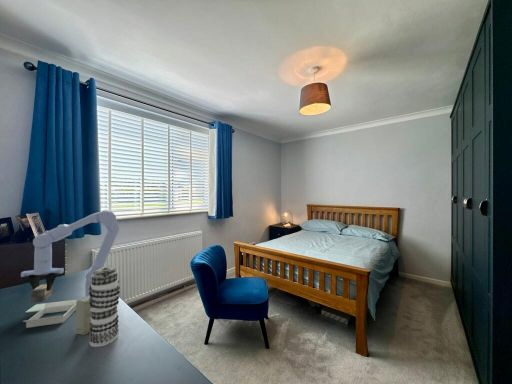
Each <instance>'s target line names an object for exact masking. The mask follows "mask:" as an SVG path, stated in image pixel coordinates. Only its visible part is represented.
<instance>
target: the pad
mask: <svg viewBox="0 0 512 384" xmlns="http://www.w3.org/2000/svg"><path fill="white" fill-rule="evenodd" d="M47 303H48V302H45V303H37V304H35V305H33V306H32V307H30V308H29V309H27V310H26V311H25V312H24V313H25V314H28V313H38V312H39V311H40V310H42V309H43V308H44V307H45V305H46V304H47Z"/></svg>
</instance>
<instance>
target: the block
mask: <svg viewBox="0 0 512 384" xmlns="http://www.w3.org/2000/svg"><path fill="white" fill-rule="evenodd" d="M52 295H53V287H52V288H51V290H49V291H47V283H44V284H43V283H42V284H39V286H38V287H37V288H35V289H34V290H33V289H32V290H30V303H31V304H32V303H43V302H44V301H46V300H47V299H48V298H49V297H51V296H52Z"/></svg>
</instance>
